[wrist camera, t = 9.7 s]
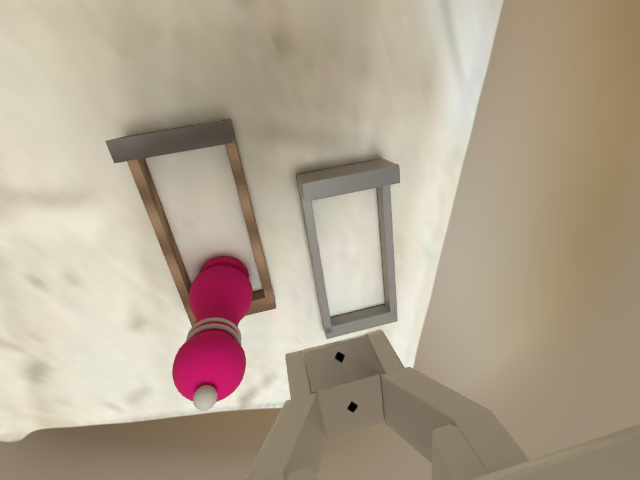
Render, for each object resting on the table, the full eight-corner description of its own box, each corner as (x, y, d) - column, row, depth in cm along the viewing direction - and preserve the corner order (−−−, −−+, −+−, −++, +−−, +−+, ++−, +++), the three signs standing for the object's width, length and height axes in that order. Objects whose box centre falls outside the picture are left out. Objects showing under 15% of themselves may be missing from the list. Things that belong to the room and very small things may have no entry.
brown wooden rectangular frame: (125, 136, 33) (105, 141, 29) (230, 119, 35) (227, 121, 30) (195, 318, 43) (188, 343, 39) (275, 300, 45) (277, 322, 40)
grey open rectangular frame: (296, 174, 38) (302, 184, 34) (382, 158, 40) (399, 165, 35) (323, 330, 48) (331, 353, 44) (392, 313, 50) (406, 334, 45)
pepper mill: (229, 241, 40) (211, 353, 22) (263, 281, 43) (271, 407, 25) (183, 272, 41) (127, 407, 22) (219, 309, 44) (197, 454, 26)
